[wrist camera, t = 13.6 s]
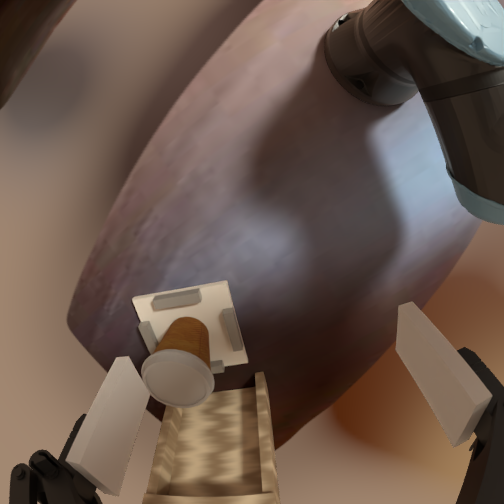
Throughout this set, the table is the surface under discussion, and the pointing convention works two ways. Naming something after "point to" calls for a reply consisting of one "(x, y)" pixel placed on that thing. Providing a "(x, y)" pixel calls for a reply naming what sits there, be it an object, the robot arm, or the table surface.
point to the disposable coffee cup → (180, 365)
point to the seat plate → (202, 308)
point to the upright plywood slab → (217, 451)
